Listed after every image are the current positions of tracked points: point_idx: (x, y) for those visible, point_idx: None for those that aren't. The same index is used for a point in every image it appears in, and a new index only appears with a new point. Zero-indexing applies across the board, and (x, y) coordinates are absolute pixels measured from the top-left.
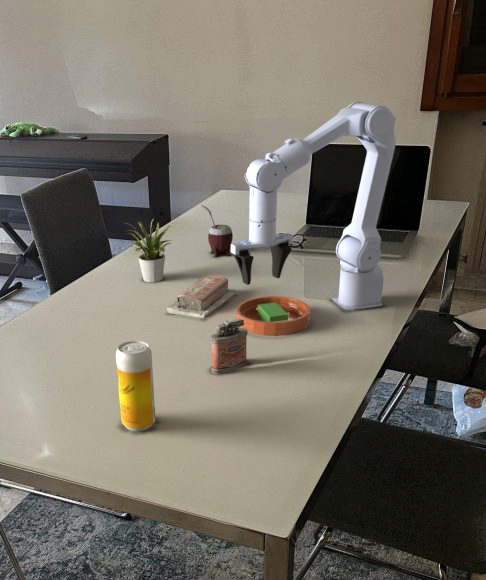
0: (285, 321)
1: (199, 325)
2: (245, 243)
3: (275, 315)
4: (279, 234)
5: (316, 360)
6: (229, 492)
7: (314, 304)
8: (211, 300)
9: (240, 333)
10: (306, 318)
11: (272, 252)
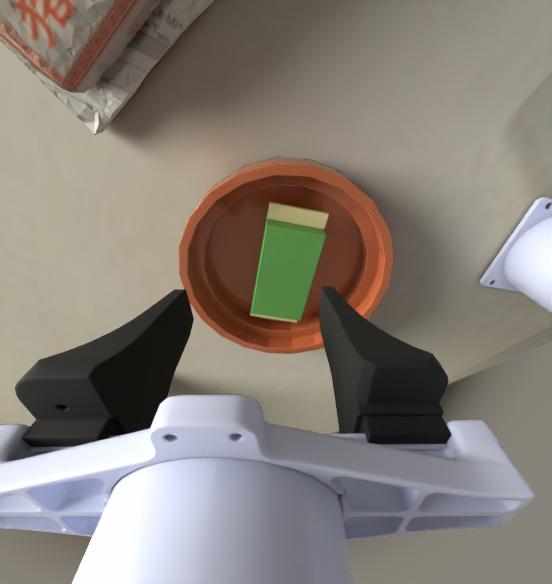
0: (269, 349)
1: (85, 169)
2: (63, 523)
3: (268, 313)
4: (444, 490)
5: (265, 403)
6: None
7: (472, 197)
8: (130, 34)
9: None
10: None
11: (348, 351)
